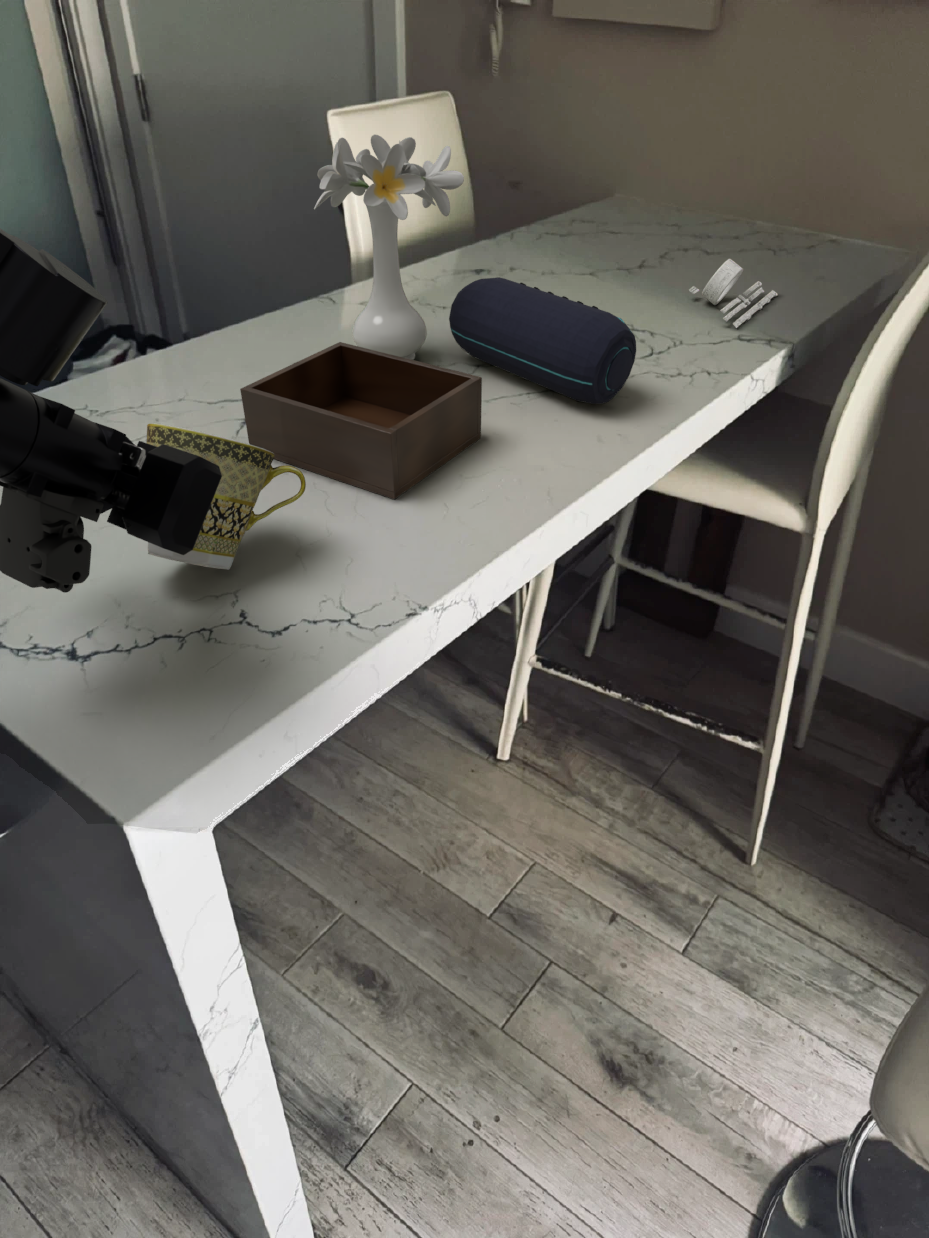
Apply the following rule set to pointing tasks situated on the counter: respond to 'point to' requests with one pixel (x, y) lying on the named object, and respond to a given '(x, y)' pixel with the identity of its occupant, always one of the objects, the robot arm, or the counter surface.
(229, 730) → the counter surface
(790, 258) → the counter surface
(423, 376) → the crate
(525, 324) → the portable speaker
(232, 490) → the ceramic cup
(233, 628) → the counter surface
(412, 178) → the flower vase
